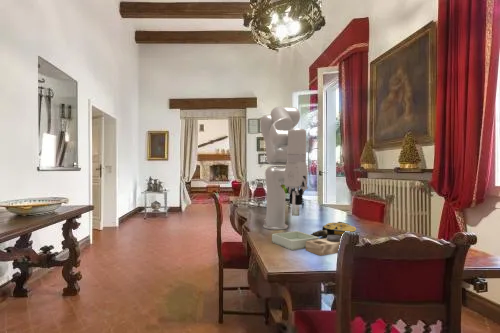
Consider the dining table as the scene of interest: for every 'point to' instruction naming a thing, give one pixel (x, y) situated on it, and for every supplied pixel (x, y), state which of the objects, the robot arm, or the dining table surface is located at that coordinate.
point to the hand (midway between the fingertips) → (295, 203)
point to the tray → (292, 239)
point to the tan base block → (324, 245)
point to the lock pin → (294, 207)
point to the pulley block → (334, 229)
